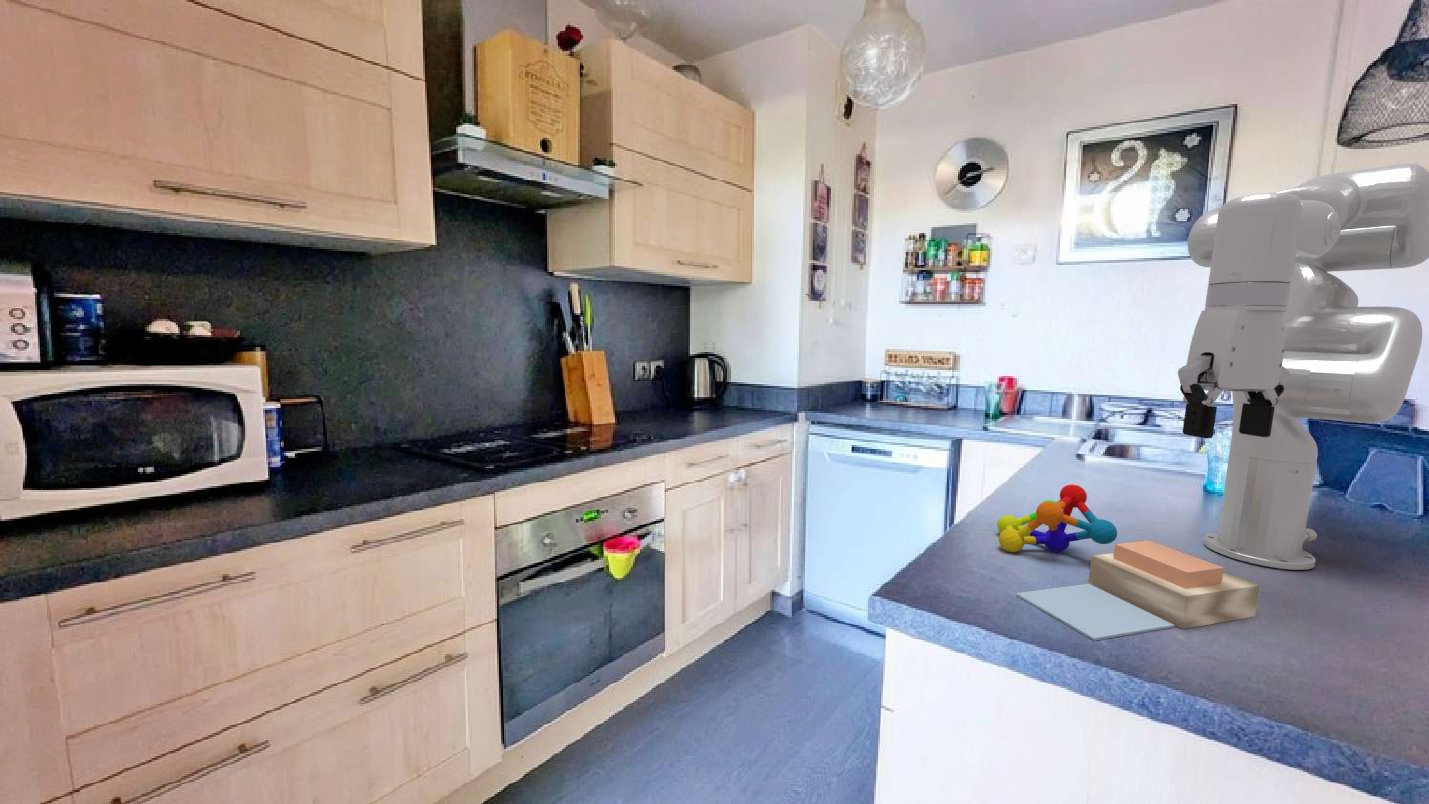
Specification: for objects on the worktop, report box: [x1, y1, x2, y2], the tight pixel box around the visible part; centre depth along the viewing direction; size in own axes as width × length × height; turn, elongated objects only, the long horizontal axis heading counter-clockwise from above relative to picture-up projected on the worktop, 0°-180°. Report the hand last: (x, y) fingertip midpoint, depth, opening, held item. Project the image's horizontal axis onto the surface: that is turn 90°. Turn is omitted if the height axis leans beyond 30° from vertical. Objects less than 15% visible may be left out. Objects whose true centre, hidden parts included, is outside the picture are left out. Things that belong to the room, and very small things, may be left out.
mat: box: [1015, 583, 1175, 642], centre depth 69 cm, size 12×11×1 cm
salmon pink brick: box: [1113, 540, 1225, 589], centre depth 72 cm, size 6×9×2 cm, turn 16°
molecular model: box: [996, 484, 1118, 553], centre depth 89 cm, size 15×10×15 cm
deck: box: [1087, 552, 1260, 630], centre depth 73 cm, size 12×12×4 cm
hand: (1225, 435), depth 72 cm, fingers open, 9 cm apart
